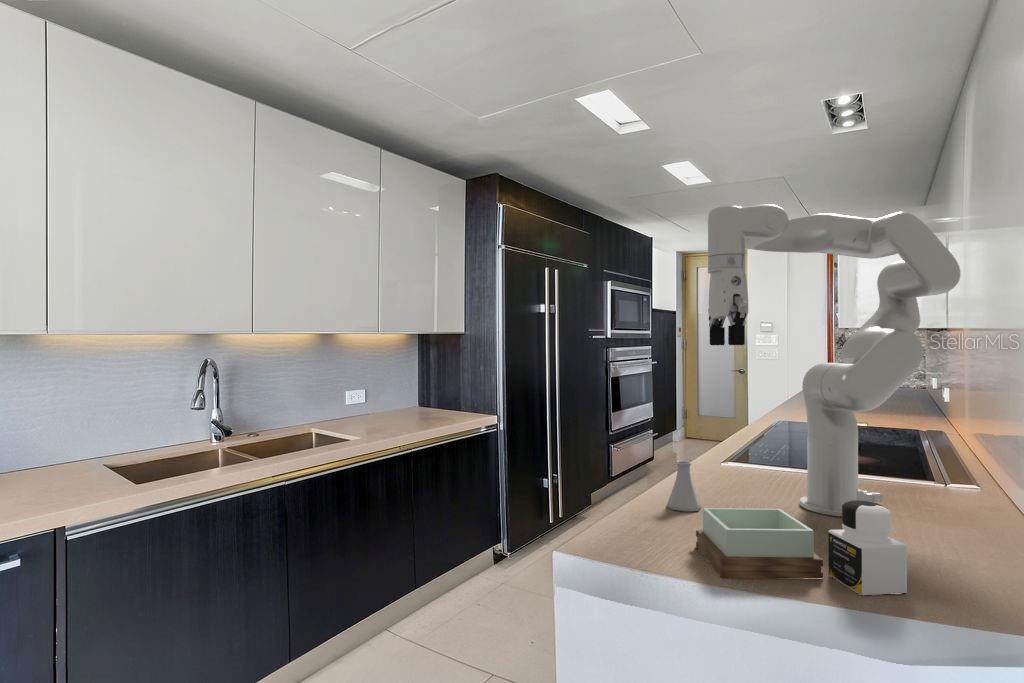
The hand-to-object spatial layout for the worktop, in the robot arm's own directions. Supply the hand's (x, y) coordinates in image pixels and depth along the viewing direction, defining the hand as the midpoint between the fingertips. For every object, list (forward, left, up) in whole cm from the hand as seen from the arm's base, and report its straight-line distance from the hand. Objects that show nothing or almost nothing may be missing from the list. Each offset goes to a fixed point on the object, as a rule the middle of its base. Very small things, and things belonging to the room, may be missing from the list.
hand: (726, 345), depth 117 cm
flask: (+8, -2, -36) cm, 37 cm away
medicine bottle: (-8, +36, -36) cm, 51 cm away
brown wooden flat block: (+5, +28, -36) cm, 45 cm away
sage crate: (+5, +28, -32) cm, 43 cm away
